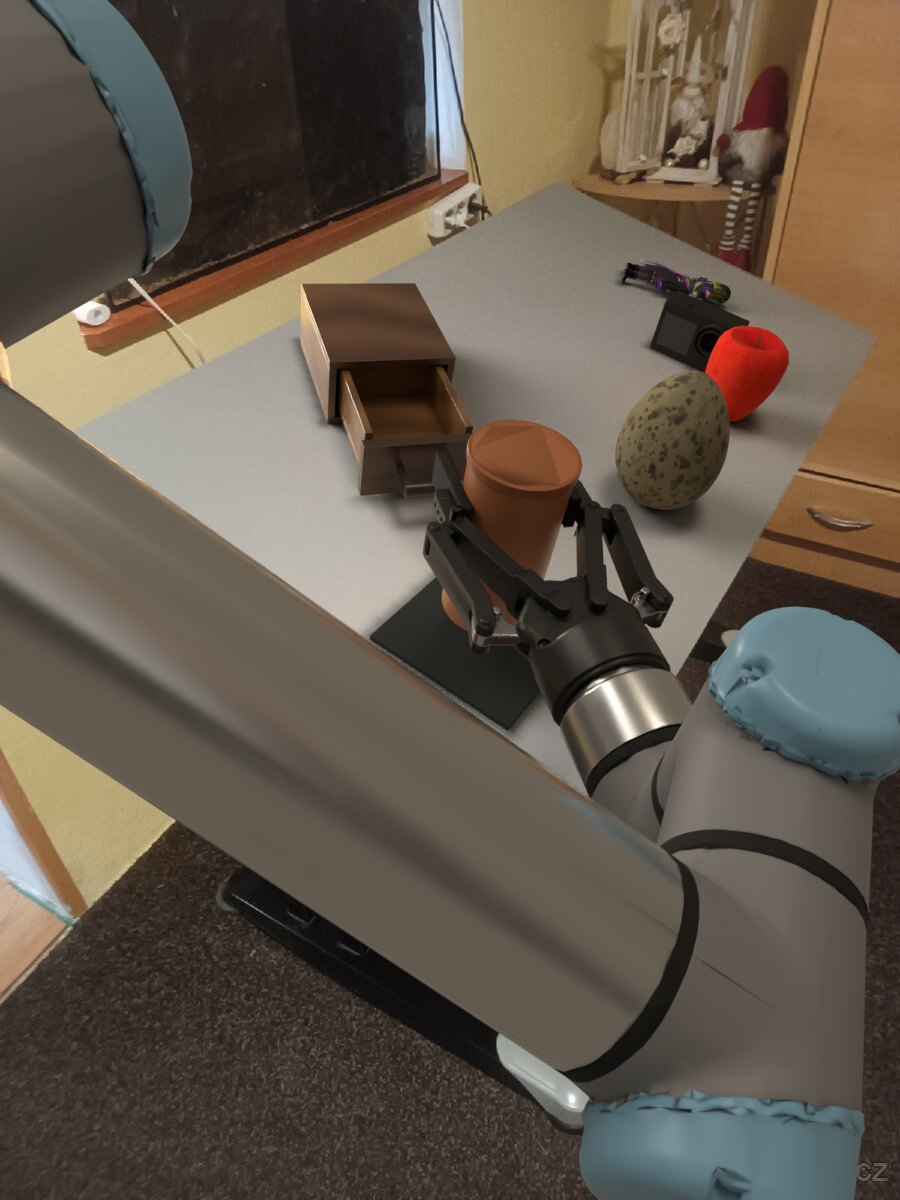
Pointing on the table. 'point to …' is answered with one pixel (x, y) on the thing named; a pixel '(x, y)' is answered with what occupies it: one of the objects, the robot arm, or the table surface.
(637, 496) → the decorative egg
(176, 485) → the table surface
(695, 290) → the character figure
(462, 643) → the mat
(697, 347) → the digital camera
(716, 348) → the apple
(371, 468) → the drawer
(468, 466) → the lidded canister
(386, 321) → the cabinet
